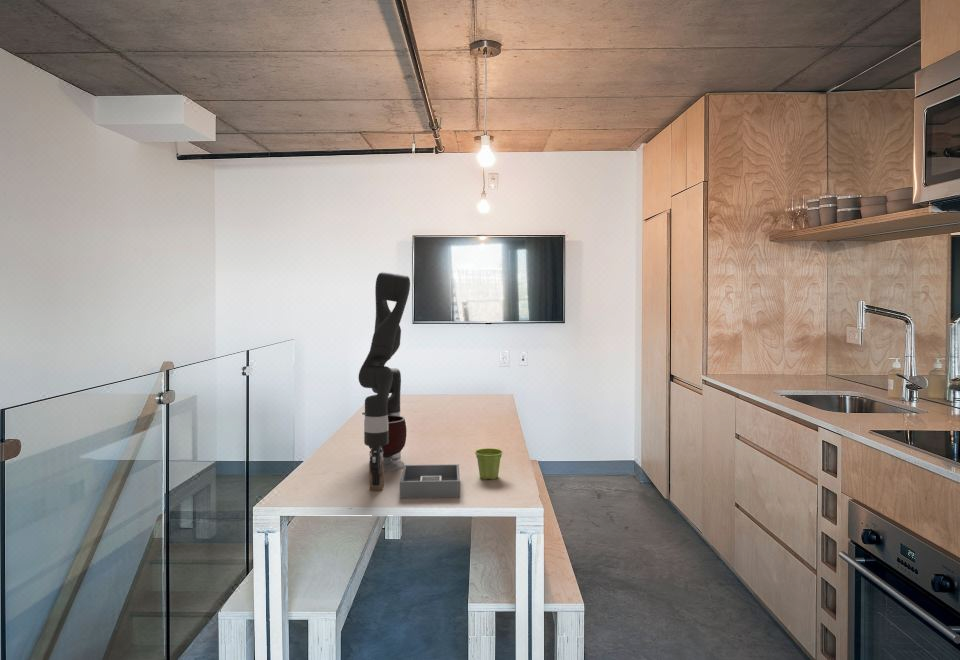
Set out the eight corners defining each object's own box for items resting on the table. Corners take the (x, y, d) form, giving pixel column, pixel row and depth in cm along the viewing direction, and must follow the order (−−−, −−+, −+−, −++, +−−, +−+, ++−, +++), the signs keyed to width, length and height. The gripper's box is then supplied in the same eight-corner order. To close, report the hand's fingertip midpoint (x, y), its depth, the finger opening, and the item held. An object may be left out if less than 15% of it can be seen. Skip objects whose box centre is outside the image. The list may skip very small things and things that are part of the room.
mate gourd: (401, 459, 228) (401, 405, 227) (411, 469, 215) (410, 412, 214) (359, 463, 223) (358, 408, 221) (366, 474, 210) (366, 416, 209)
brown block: (371, 486, 197) (370, 458, 196) (383, 486, 197) (383, 458, 197) (369, 490, 193) (369, 461, 192) (382, 490, 193) (382, 461, 193)
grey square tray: (404, 480, 203) (404, 465, 203) (458, 479, 204) (458, 464, 204) (399, 498, 186) (399, 481, 185) (460, 497, 186) (459, 481, 186)
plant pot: (468, 477, 207) (468, 451, 206) (488, 471, 214) (488, 446, 213) (488, 483, 200) (488, 456, 200) (508, 477, 207) (508, 451, 206)
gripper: (386, 434, 187) (386, 490, 188) (390, 424, 201) (390, 476, 202) (361, 434, 187) (361, 490, 188) (367, 424, 201) (367, 476, 202)
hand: (376, 482), depth 195 cm, fingers closed on brown block, 4 cm apart
